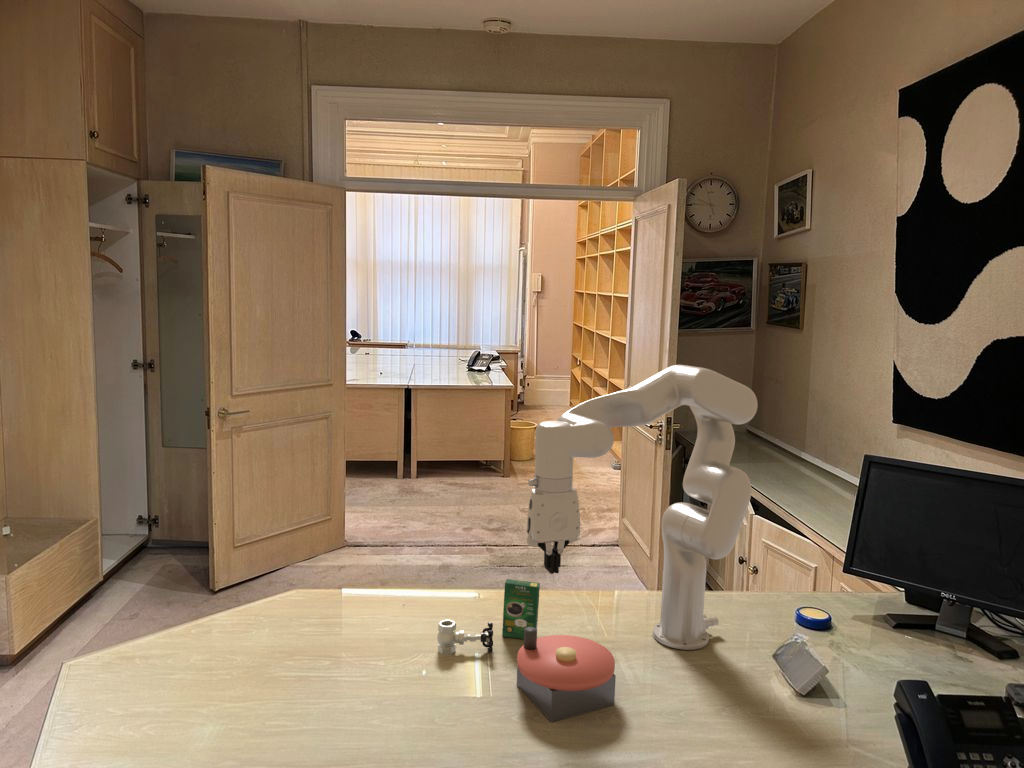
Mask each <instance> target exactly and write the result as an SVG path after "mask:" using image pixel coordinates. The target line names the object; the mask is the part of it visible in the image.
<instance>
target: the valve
mask: <svg viewBox="0 0 1024 768" xmlns="http://www.w3.org/2000/svg"><path fill="white" fill-rule="evenodd" d="M493 625H494V623H493V622H492V621H488V622H487V627H485V628H483V630H482V632H480V634H477V633H475V632H474V633H473V632H471V633H469V634H468V633H465V630H464V629H463V630H460V629H459V631H457V623H456V622H455V621H454V620H451V619H443V620H440V622H439V623H438V626H437V627H438V628H437V631H438V633H437V637H436V640H437V643H438V644H437V652H438V653H439V654H440V655H441V656H452V655H453V654H455V652H456V648H457V647H456V646H457V645H456V644H458V645H459V646H460V645H461V646H462V645H463V646H464V644H465V643H466V642H467V641H469V643H470V642H472V643H473V642H476V641H479V640H480V643H482V646H483V647H485V648H486V649H487V650H486V651H487V653H488V654H492V653H493V652H494V639H493V636H494V630H493V627H494V626H493ZM464 642H465V643H464Z"/></svg>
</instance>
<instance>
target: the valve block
mask: <svg viewBox="0 0 1024 768" xmlns="http://www.w3.org/2000/svg"><path fill="white" fill-rule="evenodd" d="M616 677H617V676H616V674H615V673H614V674H613V676H612V677H611V679H610V680H609V681H608V682H606V683H605V684H603V685H601V686H598V687H596V688H592V689H588V690H581V691H562V690H555V689H550V688H546V687H543V686H540V685H538V684H536V683H534V682H532V681H530V680H528V679H527V678H526V677H524V676H523V675H522V674H521V672H520V671H519V669H518V666H517V665H516V686H517V687H518V688H519V690H521V691H522V692H523V694H524V695H525V696H527V698H528V699H529V700H530V701H531V703H533V704H534V706H536V708H537V709H538V710H539V712H541V714H543V715H544V717H546V718H547V720H548V721H549V722H550V723H553V722H557V721H560V720H564V719H567V718H571V717H575V716H576V717H577V716H579V715H584V714H586V713H590V712H593V711H596V710H600V709H604V708H608V707H612V706H615V699H616V697H615V696H616Z"/></svg>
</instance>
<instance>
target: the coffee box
mask: <svg viewBox="0 0 1024 768" xmlns="http://www.w3.org/2000/svg"><path fill="white" fill-rule="evenodd" d="M540 585H541V584H540V582H534V581H527V580H520V579H509V578H507V579H506V580H505V582H504V592H503V593H504V595H503V612H502V630H501V631H502V635H501V636H502V638H509V639H519V640H524V629H525V628H526V627H534V628H536V629H537V630H538V621H539V620H538V619H539V602H540Z"/></svg>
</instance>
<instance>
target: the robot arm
mask: <svg viewBox="0 0 1024 768" xmlns="http://www.w3.org/2000/svg"><path fill="white" fill-rule="evenodd" d="M681 406H689V408H690V410H691V412H692V414H693V417H694V419H695V421H696V427H697V434H696V440H695V444H694V446H693V449H692V452H691V454H690V455H691V456H690V457H689V461H688V464H687V466H686V470H685V472H684V475H683V479H682V480H683V481H682V488H683V489H682V490H683V491H684V492H685V494H686V495H688V496H689V497H691V498H693V499H695V500H697V501H700V502H702V503H705V504H707V505H710V510H708V509H706V508H703V507H700V506H698V505H695V504H692V503H689V502H682V501H681V502H675V503H673V504H671V505H669V506H668V507H667V508H666V510H664V512H663V514H662V517H661V526H660V527H661V536H662V541H663V570H662V584H661V585H662V587H661V602H660V603H661V604H660V621H659V623H657V624H655V625H654V627H653V628H652V629H653V630H652V635H653V638H654V639H655V640H656V641H657V642H659V643H660V644H662V645H663V646H666V647H668V648H672V649H675V650H676V649H677V650H682V651H685V650H686V651H690V650H691V651H692V650H698V649H702V648H704V647H706V646H707V645H708V644H709V640H710V636H709V633H708V632H707V631H706V630H708V629H709V627H713V626H714V627H715V626H718V625H719V618H718V617H717V616H712V617H708V618H707V615H706V614H704V609H705V592H706V579H707V578H706V577H707V559H706V558H709V559H711V560H721V559H723V558H726V557H727V556H728V555H729V554H730V553H731V552H732V550H733V548H734V546H735V544H736V542H737V538H738V536H739V533H740V531H741V527H742V525H743V522H744V519H745V517H746V513H747V511H748V507H749V505H750V501H751V497H752V484H751V480H750V478H749V476H748V475H747V474H746V472H744V471H743V470H742V469H740V468H738V467H736V466H735V467H734V466H732V465H730V464H731V460H732V457H733V452H734V450H735V444H736V435H735V431H734V428H733V425H743V424H747V423H749V422H750V421H751V420H752V419H754V417H755V415H756V413H757V411H758V399H757V395H756V394H755V392H754V391H753V390H752V389H751V388H749V386H747V385H745V384H743V383H741V382H738V381H736V380H734V379H732V378H730V377H727V376H725V375H723V374H722V373H719V372H717V371H714V370H713V369H710V368H705V367H701V366H693V365H688V364H685V365H684V364H674V365H670V366H668V367H666V368H664V369H663V370H661V371H659V372H657V373H655V374H653V375H652V376H649V377H648V378H646V379H645V380H643V381H641V382H639V383H637V384H635V385H633V386H631V387H629V388H626V389H623V390H618V391H616V392H612V393H609V394H605V395H601V396H597V397H595V398H591V399H588V400H586V401H584V402H581V403H579V404H577V405H576V406H574V407H572V408H570V409H568V410H567V411H566V412H564V413H562V414H561V415H559V417H558V418H557V419H556V420H546V421H541V422H540V423H538V424H537V425H536V428H535V441H534V442H535V443H534V444H535V448H534V449H535V450H534V451H535V453H534V456H535V457H534V460H535V463H534V474H533V478H531V479H528V481H527V483H528V484H527V485H528V486H529V487H533V488H532V489H531V491H530V492H531V493H530V497H529V502H528V508H527V519H526V533H527V535H528V536H527V539H526V544H527V545H528V546H530V547H535V548H540V549H541V550H542V551H543V567H544V569H546V571H547V572H549V574H550V575H554V574H559V572H560V568H561V563H562V561H561V560H562V559H561V557H562V554H563V553H564V550H565V548H566V547H568V545H569V544H572V543H575V542H577V541H578V540H579V536H580V535H581V515H580V514H581V513H580V505H579V498H578V496H579V495H578V492H577V489H576V488H574V487H573V484H574V483H573V481H574V480H573V479H574V478H573V477H574V475H573V474H574V459H575V458H588V459H590V458H592V459H594V458H600V457H603V456H605V455H606V454H607V453H609V452H610V451H611V449H612V448H613V445H614V442H615V440H614V439H615V437H614V433H613V430H612V428H616V427H617V428H623V427H624V428H625V427H627V428H628V427H629V428H632V427H641V426H647V425H649V424H651V423H653V422H655V421H656V420H658V419H659V418H661V417H664V415H666V414H668V413H670V412H672V411H674V410H675V409H677V408H679V407H681ZM552 543H553V544H552Z"/></svg>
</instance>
